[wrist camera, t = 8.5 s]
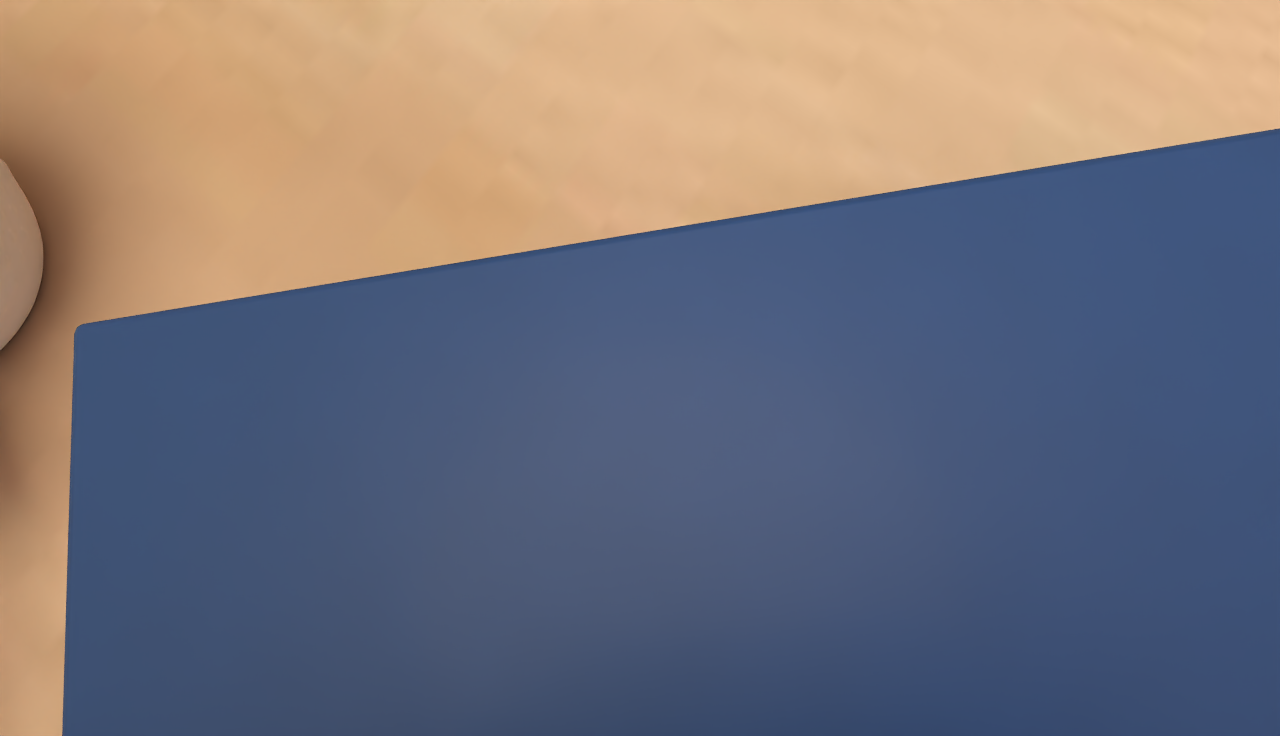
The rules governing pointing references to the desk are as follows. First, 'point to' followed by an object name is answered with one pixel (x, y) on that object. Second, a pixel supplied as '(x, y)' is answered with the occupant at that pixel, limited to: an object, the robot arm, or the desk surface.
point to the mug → (17, 256)
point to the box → (713, 478)
